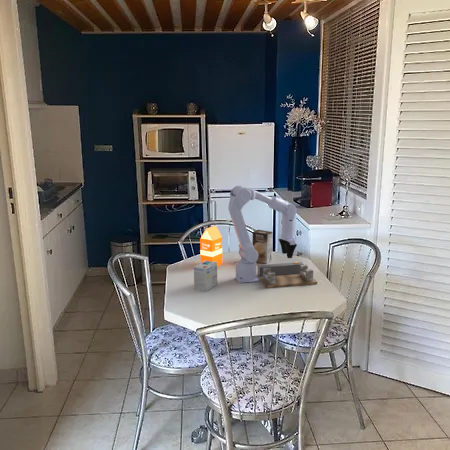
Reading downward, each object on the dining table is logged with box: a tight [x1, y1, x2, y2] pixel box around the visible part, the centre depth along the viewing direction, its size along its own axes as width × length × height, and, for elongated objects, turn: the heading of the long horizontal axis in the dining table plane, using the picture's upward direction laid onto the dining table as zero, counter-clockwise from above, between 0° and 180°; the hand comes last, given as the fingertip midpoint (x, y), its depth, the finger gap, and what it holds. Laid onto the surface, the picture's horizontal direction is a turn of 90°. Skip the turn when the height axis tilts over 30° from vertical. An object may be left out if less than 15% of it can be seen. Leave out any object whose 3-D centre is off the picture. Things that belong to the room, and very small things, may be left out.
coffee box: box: [251, 229, 273, 265], centre depth 248 cm, size 9×6×16 cm
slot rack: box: [258, 264, 318, 289], centre depth 218 cm, size 24×12×6 cm, turn 101°
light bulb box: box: [193, 261, 218, 292], centre depth 212 cm, size 11×7×11 cm, turn 154°
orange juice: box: [199, 225, 223, 267], centre depth 243 cm, size 8×9×20 cm
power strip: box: [257, 261, 305, 277], centre depth 229 cm, size 22×4×6 cm, turn 101°
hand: (287, 255), depth 227 cm, fingers open, 7 cm apart
